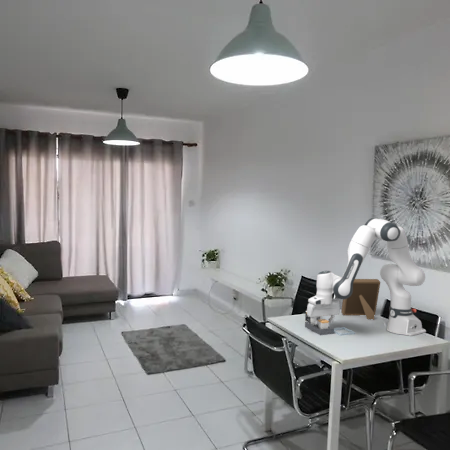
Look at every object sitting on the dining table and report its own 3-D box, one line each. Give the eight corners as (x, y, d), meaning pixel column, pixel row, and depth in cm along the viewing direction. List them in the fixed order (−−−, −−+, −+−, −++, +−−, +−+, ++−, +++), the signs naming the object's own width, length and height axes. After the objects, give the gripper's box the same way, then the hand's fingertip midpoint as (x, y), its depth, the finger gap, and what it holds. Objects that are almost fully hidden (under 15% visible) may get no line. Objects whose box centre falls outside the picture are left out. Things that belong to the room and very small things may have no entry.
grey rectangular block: (316, 326, 249) (316, 315, 249) (320, 328, 245) (320, 317, 245) (310, 327, 248) (310, 315, 247) (314, 329, 244) (314, 317, 243)
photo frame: (341, 313, 283) (342, 277, 281) (372, 313, 285) (374, 277, 283) (348, 320, 268) (350, 281, 266) (381, 320, 270) (383, 282, 268)
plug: (324, 330, 242) (324, 318, 241) (328, 333, 238) (328, 320, 237) (318, 331, 240) (318, 319, 240) (322, 333, 236) (322, 321, 236)
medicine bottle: (304, 322, 262) (305, 303, 261) (312, 320, 266) (313, 301, 265) (313, 325, 256) (314, 305, 255) (321, 323, 260) (322, 304, 260)
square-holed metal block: (304, 328, 249) (305, 321, 248) (317, 327, 252) (318, 320, 252) (320, 337, 234) (320, 329, 233) (333, 335, 237) (333, 328, 237)
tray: (344, 330, 247) (344, 327, 246) (355, 335, 237) (355, 332, 237) (329, 332, 243) (329, 328, 243) (340, 337, 234) (340, 333, 234)
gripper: (336, 296, 245) (335, 319, 246) (305, 299, 238) (305, 323, 239) (342, 299, 239) (342, 323, 240) (311, 302, 232) (311, 326, 233)
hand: (323, 323), depth 239 cm, fingers open, 8 cm apart
